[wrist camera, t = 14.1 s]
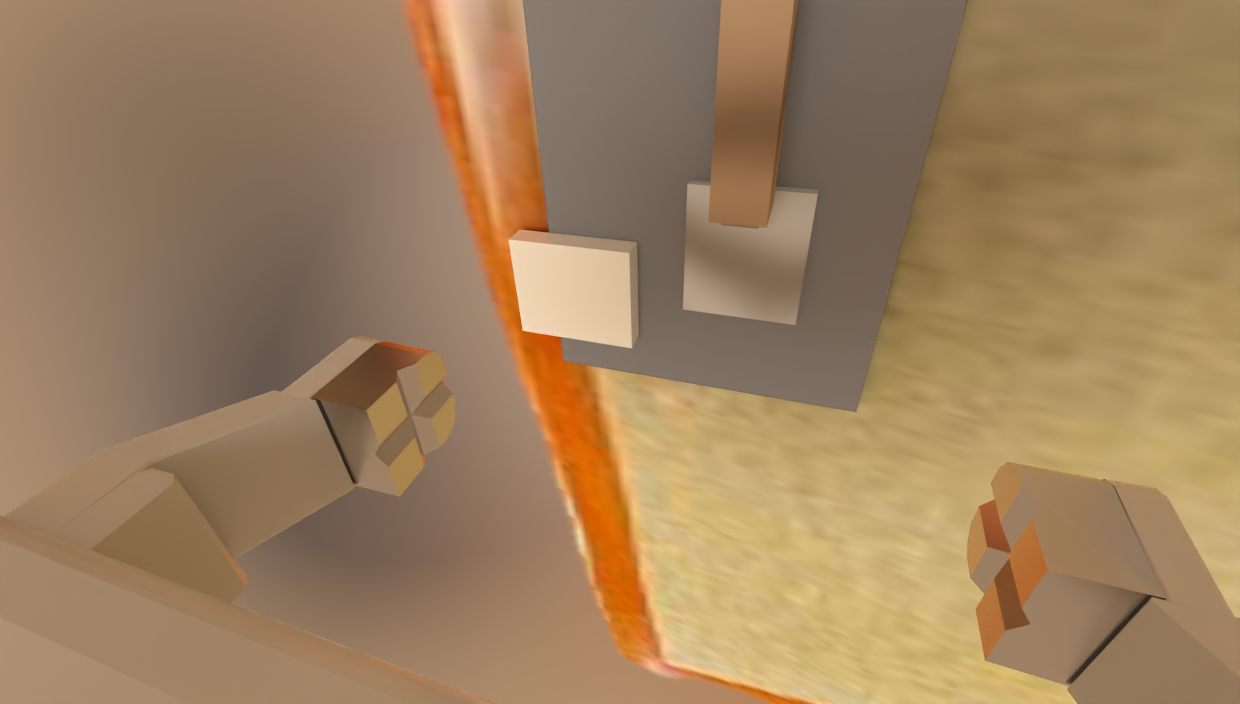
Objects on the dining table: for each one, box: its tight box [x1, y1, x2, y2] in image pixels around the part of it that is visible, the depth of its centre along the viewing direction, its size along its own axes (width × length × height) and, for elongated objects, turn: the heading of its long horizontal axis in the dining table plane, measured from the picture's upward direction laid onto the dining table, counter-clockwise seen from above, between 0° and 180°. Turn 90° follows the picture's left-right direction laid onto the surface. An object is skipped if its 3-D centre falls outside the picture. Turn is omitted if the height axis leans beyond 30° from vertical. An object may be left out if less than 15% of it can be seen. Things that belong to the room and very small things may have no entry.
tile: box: [508, 230, 639, 348], centre depth 33 cm, size 6×2×7 cm
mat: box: [523, 0, 968, 412], centre depth 27 cm, size 26×18×1 cm
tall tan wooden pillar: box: [683, 0, 818, 325], centre depth 25 cm, size 16×6×4 cm, turn 2°
